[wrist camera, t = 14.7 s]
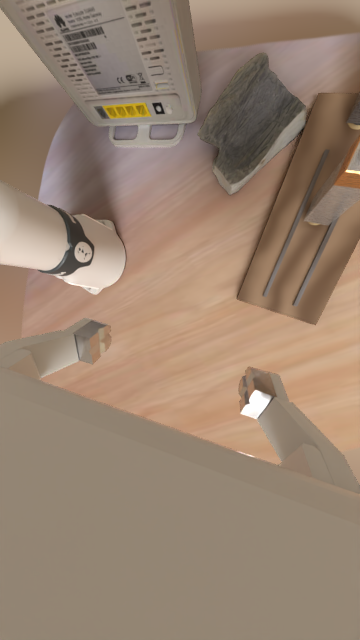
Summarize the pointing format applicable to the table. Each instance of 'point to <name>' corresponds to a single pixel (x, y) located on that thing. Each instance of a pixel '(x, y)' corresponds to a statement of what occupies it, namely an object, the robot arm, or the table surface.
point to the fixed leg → (355, 112)
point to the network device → (118, 60)
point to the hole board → (301, 236)
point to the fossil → (251, 123)
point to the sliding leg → (338, 189)
